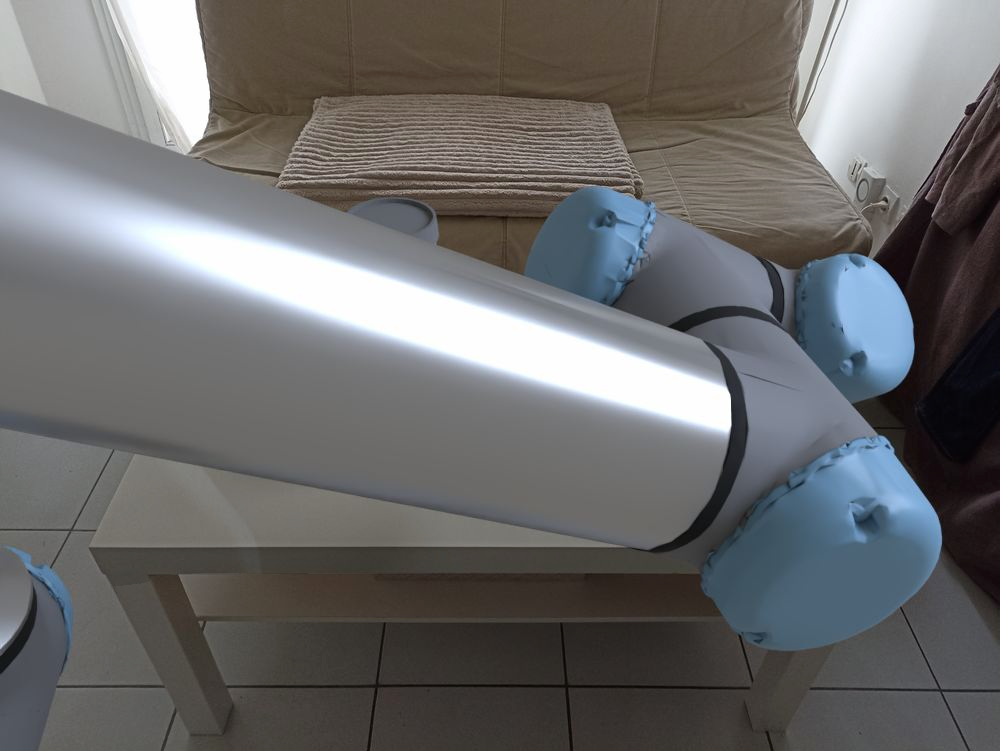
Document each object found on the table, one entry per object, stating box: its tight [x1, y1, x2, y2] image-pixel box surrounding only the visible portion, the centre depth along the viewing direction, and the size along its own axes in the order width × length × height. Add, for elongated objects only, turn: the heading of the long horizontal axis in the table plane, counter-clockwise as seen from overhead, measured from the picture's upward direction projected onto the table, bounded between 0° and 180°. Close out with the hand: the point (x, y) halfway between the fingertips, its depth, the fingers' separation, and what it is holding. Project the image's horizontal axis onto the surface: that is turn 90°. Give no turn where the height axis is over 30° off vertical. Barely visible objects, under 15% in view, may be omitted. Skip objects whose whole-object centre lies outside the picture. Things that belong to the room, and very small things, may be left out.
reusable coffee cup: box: [345, 196, 440, 245], centre depth 102 cm, size 13×13×15 cm
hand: (496, 441), depth 70 cm, fingers closed
